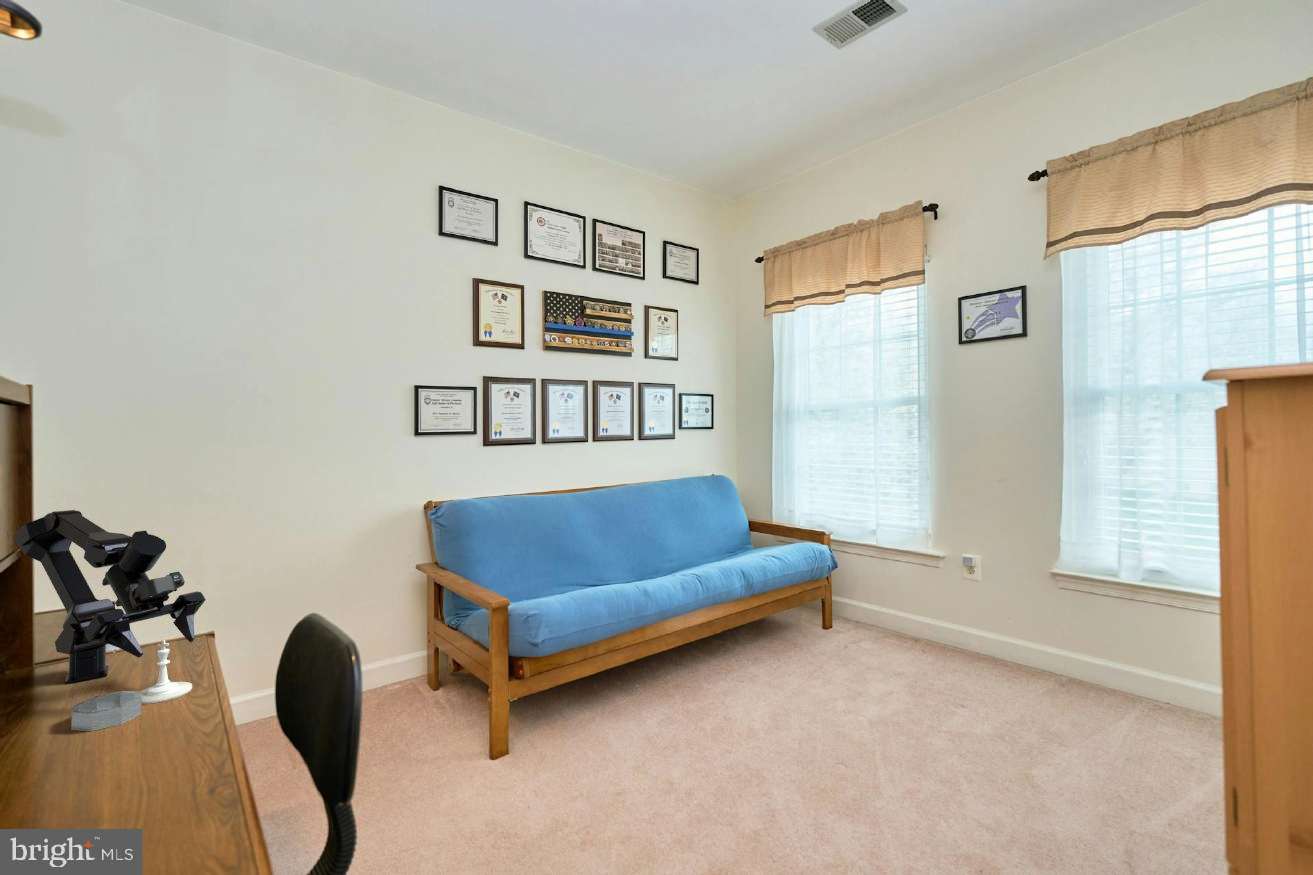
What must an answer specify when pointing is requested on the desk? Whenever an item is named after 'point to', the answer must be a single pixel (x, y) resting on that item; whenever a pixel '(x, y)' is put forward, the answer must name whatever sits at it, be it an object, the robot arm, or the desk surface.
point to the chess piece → (162, 674)
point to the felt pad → (182, 690)
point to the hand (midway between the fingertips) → (167, 647)
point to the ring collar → (106, 711)
